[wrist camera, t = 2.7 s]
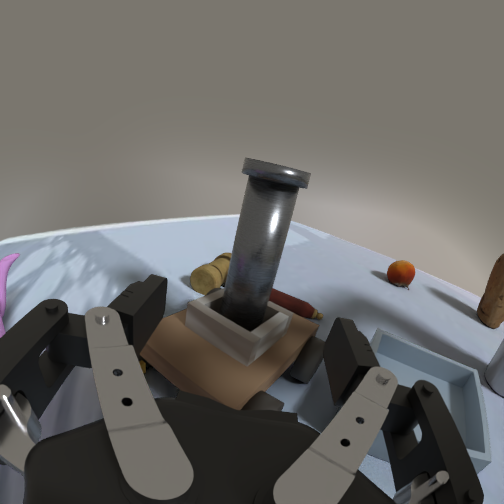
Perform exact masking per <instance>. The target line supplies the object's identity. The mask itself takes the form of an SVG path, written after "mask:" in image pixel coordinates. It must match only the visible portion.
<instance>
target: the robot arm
mask: <svg viewBox="0 0 504 504" xmlns="http://www.w3.org/2000/svg"><path fill="white" fill-rule="evenodd" d="M166 293H167V278H164V277H161V276H157V275H153V274H151V275H150V276H149V277H148V278H147V279H146V280H145V281H144V282H140V281H138V282H135V283H133V284H130V285H129V286H128V287H127V288H126V289H125V291H123V292H122V293H121V294H120V295H119V296H118V297H117V298H116V299H115V300H114V301H112V302H111V303H110V304H109V305H108V306H107V307H95V308H92V309H90V310H89V311H87V312H86V314H85V315H77V314H71V313H68V307H67V304H66V303H65V302H63V301H61V300H58V299H48V300H44V301H42V302H41V303H39V304H38V305H37V306H36V307H35V308H33V309H32V310H31V311H30V312H29V313H27V314H26V315H25V316H24V317H23V318H22V319H21V320H19V321H18V322H17V323H16V324H15V325H14V326H13V327H12V328H11V329H9V330H8V331H7V332H6V333H5V334H4V335H3V336H2V337H1V338H0V464H1V465H8V466H10V467H11V468H12V469H14V470H15V471H17V472H18V473H19V474H21V475H22V476H24V479H25V492H24V500H23V504H482V503H483V499H484V494H483V490H482V487H481V484H480V482H479V479H478V476H477V473H476V471H475V468H474V466H473V463H472V461H471V458H470V456H469V453H468V451H467V449H466V446H465V444H464V442H463V439H462V437H461V435H460V433H459V431H458V428H457V426H456V424H455V422H454V420H453V418H452V416H451V414H450V412H449V410H448V408H447V406H446V404H445V402H444V400H443V398H442V396H441V394H440V392H439V390H438V389H437V387H436V386H435V385H433V384H432V383H430V382H429V381H426V380H418V381H416V382H415V384H414V385H413V386H412V388H410V387H406V386H403V385H399V384H398V380H397V377H396V376H395V375H394V374H393V373H392V372H391V371H389V370H388V369H386V368H383V367H380V365H379V362H378V360H377V358H376V356H375V354H374V352H373V350H372V348H371V346H370V344H369V341H368V339H367V338H366V337H365V336H364V335H363V334H362V333H361V332H360V331H358V330H357V328H356V326H355V324H354V322H353V320H350V319H344V318H339V317H338V318H336V320H335V321H334V324H333V326H332V328H331V331H330V333H329V335H328V338H327V340H326V342H325V345H324V349H323V358H324V362H325V366H326V370H327V375H328V379H329V383H330V388H331V392H332V397H333V402H334V405H337V406H343V407H342V408H341V410H340V411H339V412H338V413H337V415H336V416H335V417H334V419H333V420H332V421H331V422H330V424H329V425H328V426H327V427H326V428H325V430H324V431H323V432H322V433H321V434H320V433H319V432H318V431H316V430H315V429H313V428H311V427H309V426H307V425H305V424H303V423H300V422H298V417H297V413H290V412H282V411H275V410H236V409H233V408H231V407H229V406H226V405H224V404H222V403H219V402H217V401H215V400H212V399H210V398H208V397H204V396H200V395H196V394H192V393H188V392H185V391H181V390H179V392H178V395H177V397H176V398H172V397H164V398H156V399H154V398H153V395H152V393H151V391H150V389H149V386H148V384H147V381H146V379H145V376H144V374H143V371H142V369H141V366H140V364H139V361H138V358H137V357H138V356H139V354H140V352H141V351H142V349H143V348H144V346H145V345H146V343H147V341H148V340H149V338H150V337H151V335H152V334H153V332H154V331H155V329H156V327H157V326H158V324H159V323H160V321H161V320H162V318H163V315H164V311H165V304H166ZM45 348H46V350H45V351H44V352H43V354H42V355H41V356H40V354H41V352H42V351H43V350H44V349H45ZM39 356H40V357H39ZM75 366H80V367H86V368H92V369H93V374H94V379H95V384H96V389H97V393H98V397H99V401H100V405H101V409H102V413H103V416H104V418H103V419H100V420H98V421H95V422H92V423H90V424H87V425H84V426H81V427H78V428H76V429H73V430H70V431H67V432H64V433H61V434H58V435H55V436H51V437H48V438H46V439H43V440H41V441H40V442H39V438H40V435H41V425H40V422H39V418H40V417H41V415H42V414H43V412H44V410H45V409H46V407H47V406H48V404H49V403H50V401H51V400H52V398H53V397H54V395H55V394H56V392H57V391H58V389H59V388H60V386H61V385H62V384H63V382H64V381H65V379H66V378H67V376H68V375H69V374H70V372H71V371H72V369H73V368H74V367H75ZM485 378H486V380H487V382H488V383H489V385H490V386H491V387H492V389H493V390H494V391H496V392H497V393H498V394H499V395H501V396H503V397H504V339H503V341H502V343H501V344H500V346H499V348H498V350H497V351H496V353H495V355H494V356H493V358H492V360H491V361H490V363H489V364H488V366H487V370H486V372H485ZM418 424H419V426H420V429H421V432H422V437H421V440H420V442H419V444H418V441H417V438H416V435H415V433H414V430H413V429H414V428H415V427H416V426H417V425H418ZM379 430H382V432H383V436H384V440H385V444H386V448H387V452H388V456H389V461H390V465H391V470H392V474H393V479H394V484H395V489H396V494H395V495H394V497H393V499H391V498H390V497H389V496H388V495H387V494H385V493H384V492H383V491H382V490H381V489H380V488H378V487H377V486H376V485H375V484H374V483H373V482H372V481H370V480H369V479H368V478H367V477H366V476H365V475H364V474H363V473H362V472H360V471H359V470H358V468H359V466H360V465H361V463H362V461H363V460H364V458H365V456H366V454H367V453H368V451H369V449H370V447H371V446H372V444H373V442H374V440H375V438H376V436H377V434H378V432H379Z"/></svg>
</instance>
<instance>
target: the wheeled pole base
mask: <svg viewBox="0 0 504 504" xmlns="http://www.w3.org/2000/svg"><path fill="white" fill-rule="evenodd" d="M223 293H224V289H221V288H214V289H212V290H210V291H209V292H208V293H207V294H206V295H205V296H204V297H201V298H198V299H196V300H193V301H191V302H188V305H187V309H185V310H182V311H180V312H177V313H175V314H173V315H170V316H168V317H165V318H163V319H162V320H161V321H160V323H159V324H158V326H157V327H156V329H155V331H154V332H153V334H152V335H151V337H150V338H149V340H148V341H147V343H146V345H145V346H144V348H143V349H142V351H141V352H140V354H139V356H138V357H137V358H138V361H141V360H143V361H144V362H145V363H146V367H148V366H151V365H152V366H153V367H154V368H155V369H156V370H157V371H158V372H160V373H161V374H162V375H163V376H164V377H165V378H167V379H168V380H169V381H170V382H171V383H172V384H174V385H175V386H176V387H177V388H179V389H180V390H181V391H185V392H188V393H192V394H196V395H200V396H204V397H208V398H210V399H212V400H215V401H217V402H219V403H222V404H224V405H226V406H229V407H231V408H233V409H236V410H275V411H282V409H283V406H284V403H283V402H281V401H280V400H278V399H276V398H274V397H273V396H271V395H269V394H267V393H266V392H265V391H266V390H267V389H268V388H269V387H270V386H271V385H272V384H273V383H274V382H275V381H276V380H277V379H278V378H279V377H280V376H281V375H282V374H283V373H284V372H285V371H286V369H287V368H288V367H289V366H290V365H291V364H292V363H293V362H294V361H295V362H294V364H293V367H292V369H291V372H290V375H291V376H292V377H294V378H296V379H298V380H300V381H302V382H304V383H306V384H307V383H308V382H309V381H310V380H311V378H312V377H313V375H314V374H315V372H316V371H317V369H318V367H319V365H320V364H321V362H322V360H323V349H324V345H325V342H324V341H322V340H320V339H318V338H316V337H315V335H316V332H317V330H318V327H319V325H317V324H315V323H313V322H311V321H309V320H307V319H305V318H303V317H301V316H299V315H297V314H294V313H293V312H291V311H289V310H287V309H285V308H283V307H281V306H279V305H276V304H274V303H272V302H270V301H269V302H268V305H267V308H266V312H265V315H264V319H263V322H262V325H260V326H259V327H257V328H256V329H254V330H253V331H252V332H249V331H248V330H246V329H244V328H242V327H241V326H239V325H237V324H235V323H234V322H232V321H230V320H229V319H227V318H225V317H224V316H222V315H220V314H219V313H220V308H221V303H222V298H223Z"/></svg>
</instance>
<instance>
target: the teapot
mask: <svg viewBox="0 0 504 504" xmlns="http://www.w3.org/2000/svg"><path fill="white" fill-rule="evenodd" d="M19 255H20V254H19V253H15V254H11V255H8V256H6V257H4V258H3V259H2V260H1V261H0V338H1V337H2V336H3V335H4V334H5V333H6V332H5V329H4V326H3V322H2V318H3V316H4V312H5V307H6V281H7V275H8V271H9V269H10V267H11V265H12V263H13V262H14V261H15V260H16V259H17V258H18V257H19Z"/></svg>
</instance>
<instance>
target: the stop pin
mask: <svg viewBox="0 0 504 504" xmlns="http://www.w3.org/2000/svg"><path fill="white" fill-rule="evenodd" d="M242 173H243V174H247V175H249V178H248V182H247V187H246V191H245V195H244V200H243V204H242V209H241V213H240V218H239V222H238V227H237V232H236V236H235V241H234V245H233V250H232V255H231V259H230V264H229V269H228V274H227V278H226V283H225V288H224V293H223V298H222V303H221V308H220V313H219V314H220V315H222V316H224V317H225V318H227V319H229V320H230V321H232V322H234V323H235V324H237V325H239V326H241V327H242V328H244V329H246V330H248V331H249V332H252V331H253V330H254V329H256V328H257V327H259V326H260V325H262V322H263V319H264V315H265V312H266V308H267V305H268V302H269V298H270V295H271V291H272V288H273V284H274V280H275V277H276V273H277V270H278V266H279V263H280V259H281V255H282V252H283V248H284V244H285V240H286V237H287V233H288V229H289V225H290V222H291V218H292V214H293V210H294V206H295V202H296V198H297V194H298V191H299V187H300V188H306V189H307V187H308V182H309V179H310V175H311V174H310V173H307V172H304V171H300V170H297V169H293V168H289V167H285V166H281V165H277V164H273V163H269V162H264V161H260V160H255V159H250V158H245V160H244V164H243V169H242Z"/></svg>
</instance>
